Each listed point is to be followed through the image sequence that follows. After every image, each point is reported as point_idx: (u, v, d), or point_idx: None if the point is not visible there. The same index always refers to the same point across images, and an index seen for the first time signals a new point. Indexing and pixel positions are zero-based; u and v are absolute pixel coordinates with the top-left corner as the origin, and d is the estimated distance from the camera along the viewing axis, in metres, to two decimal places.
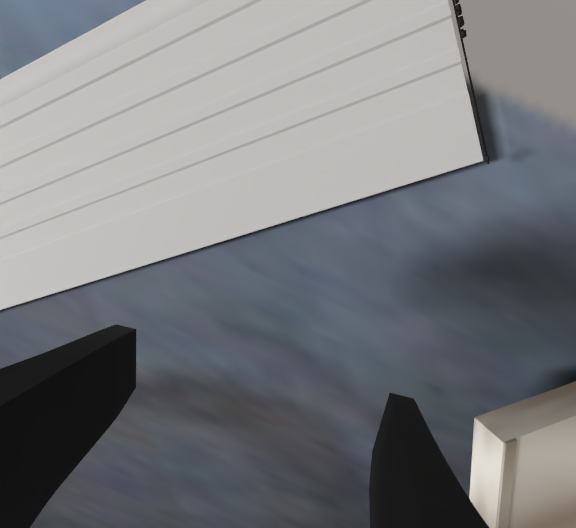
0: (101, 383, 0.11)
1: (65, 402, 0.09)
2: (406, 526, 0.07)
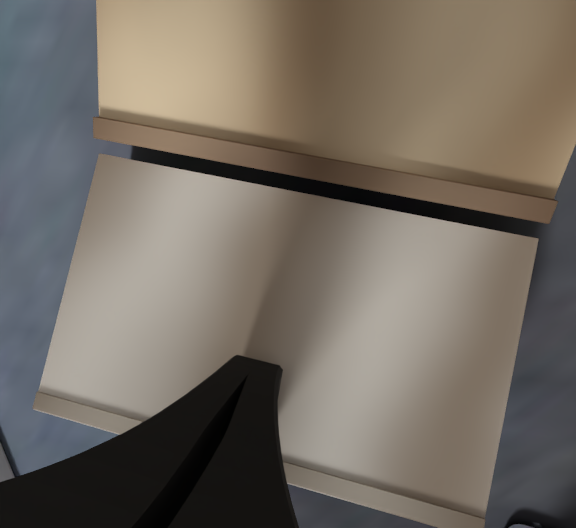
0: None
1: (214, 444, 0.09)
2: None
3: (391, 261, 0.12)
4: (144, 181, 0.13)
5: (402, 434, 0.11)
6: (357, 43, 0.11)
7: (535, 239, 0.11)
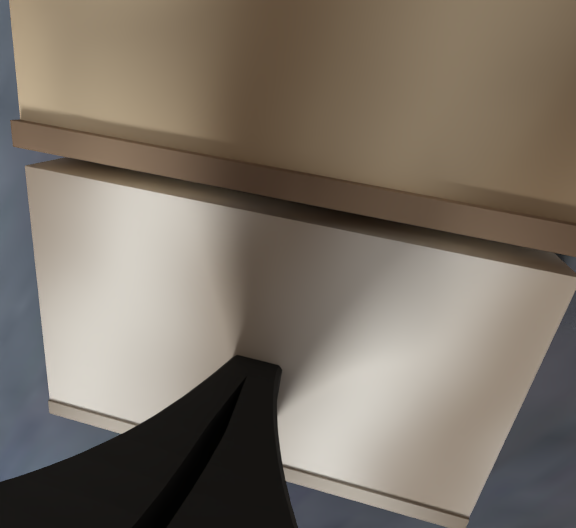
0: None
1: (215, 444, 0.09)
2: None
3: (388, 299, 0.10)
4: (87, 200, 0.11)
5: (394, 453, 0.11)
6: (345, 22, 0.08)
7: None
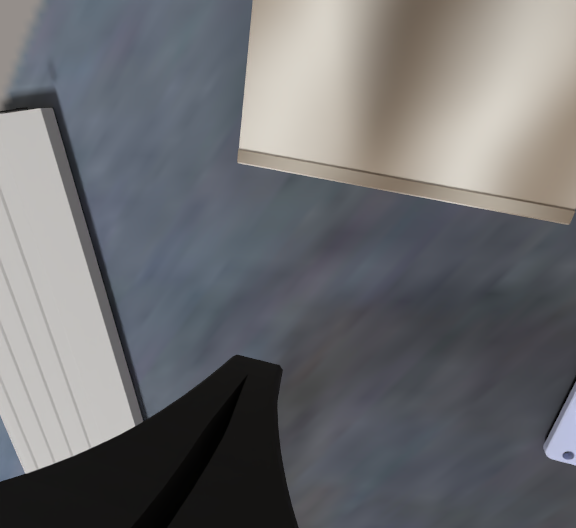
0: None
1: (214, 444, 0.09)
2: None
3: (531, 11, 0.14)
4: None
5: (520, 157, 0.15)
6: None
7: None
